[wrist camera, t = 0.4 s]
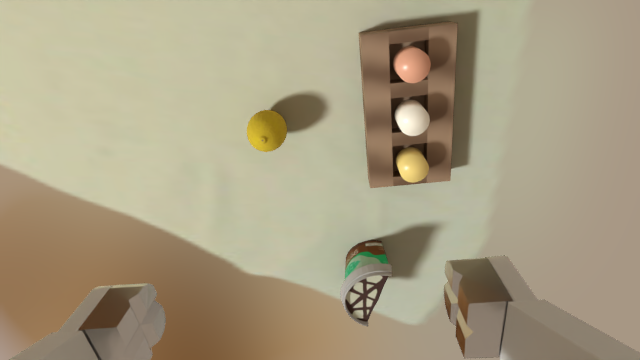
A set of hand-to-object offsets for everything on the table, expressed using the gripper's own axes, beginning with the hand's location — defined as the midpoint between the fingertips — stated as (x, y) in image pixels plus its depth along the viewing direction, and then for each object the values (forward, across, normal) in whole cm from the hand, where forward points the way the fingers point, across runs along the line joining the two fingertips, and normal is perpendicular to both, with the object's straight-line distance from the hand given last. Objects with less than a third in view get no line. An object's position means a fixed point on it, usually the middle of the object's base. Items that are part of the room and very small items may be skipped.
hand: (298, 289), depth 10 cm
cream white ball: (+42, -11, +9) cm, 45 cm away
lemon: (+46, +9, +9) cm, 47 cm away
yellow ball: (+42, -11, +16) cm, 47 cm away
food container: (+46, -2, +36) cm, 58 cm away
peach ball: (+42, -11, +2) cm, 44 cm away
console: (+46, -11, +8) cm, 48 cm away
